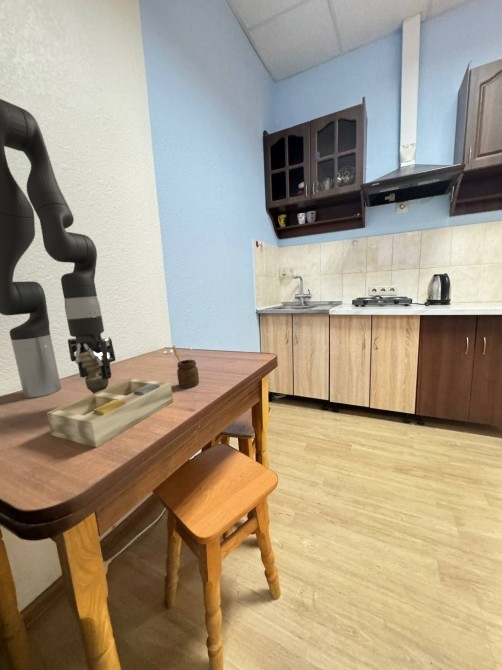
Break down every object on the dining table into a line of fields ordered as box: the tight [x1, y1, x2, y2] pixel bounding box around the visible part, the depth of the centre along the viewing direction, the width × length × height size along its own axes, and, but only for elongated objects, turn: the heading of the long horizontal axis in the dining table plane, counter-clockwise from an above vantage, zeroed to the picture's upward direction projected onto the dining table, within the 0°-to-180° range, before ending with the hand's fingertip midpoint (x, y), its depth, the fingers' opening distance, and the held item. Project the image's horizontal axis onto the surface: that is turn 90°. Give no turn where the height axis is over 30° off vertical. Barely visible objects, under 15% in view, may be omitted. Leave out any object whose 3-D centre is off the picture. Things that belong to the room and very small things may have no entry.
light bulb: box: [79, 351, 109, 394], centre depth 72 cm, size 6×6×15 cm
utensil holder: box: [172, 345, 200, 389], centre depth 81 cm, size 6×6×12 cm
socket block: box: [46, 378, 174, 448], centre depth 63 cm, size 14×21×6 cm, turn 155°
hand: (95, 377), depth 72 cm, fingers open, 8 cm apart
